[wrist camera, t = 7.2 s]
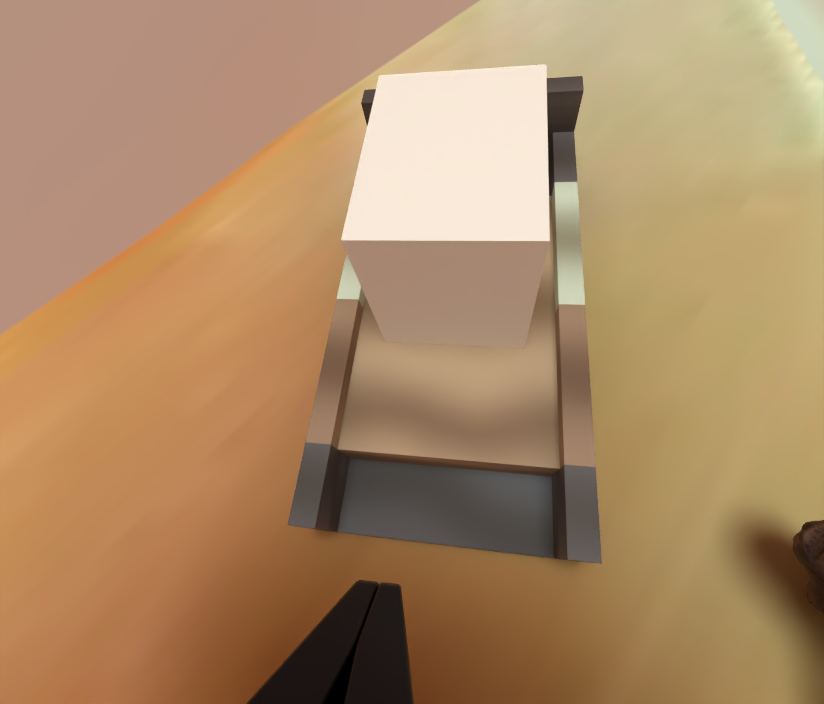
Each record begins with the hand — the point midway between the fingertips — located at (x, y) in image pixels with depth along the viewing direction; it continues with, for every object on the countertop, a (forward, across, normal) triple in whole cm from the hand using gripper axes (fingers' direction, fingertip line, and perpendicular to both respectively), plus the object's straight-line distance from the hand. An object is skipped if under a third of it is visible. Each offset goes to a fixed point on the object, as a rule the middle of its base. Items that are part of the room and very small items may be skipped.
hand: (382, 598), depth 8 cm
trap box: (+18, 0, -1) cm, 18 cm away
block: (+18, 0, -4) cm, 18 cm away
